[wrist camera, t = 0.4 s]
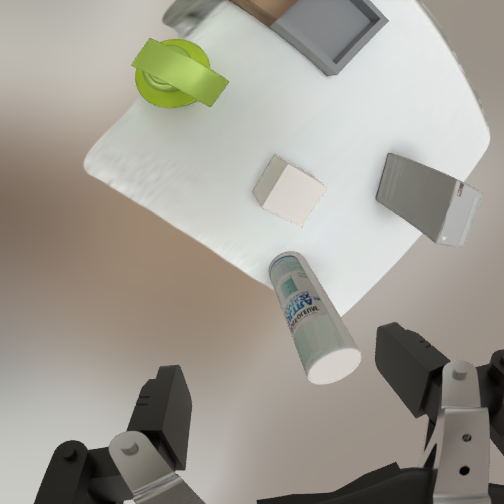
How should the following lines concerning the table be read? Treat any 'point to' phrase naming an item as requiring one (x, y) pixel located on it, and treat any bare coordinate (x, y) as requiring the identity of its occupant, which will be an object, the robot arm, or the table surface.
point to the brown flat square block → (265, 8)
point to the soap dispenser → (176, 74)
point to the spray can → (313, 321)
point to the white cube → (288, 191)
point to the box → (330, 30)
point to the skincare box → (429, 200)
